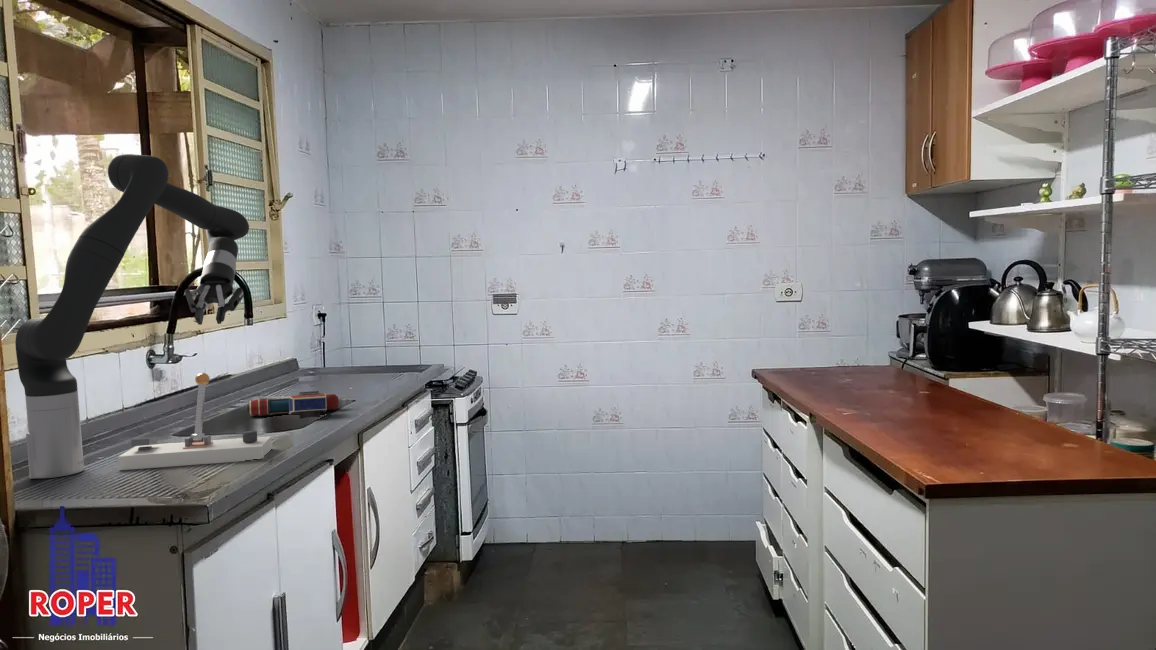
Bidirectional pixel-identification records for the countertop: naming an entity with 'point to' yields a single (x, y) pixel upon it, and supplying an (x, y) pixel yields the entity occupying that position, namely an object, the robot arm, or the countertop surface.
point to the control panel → (194, 453)
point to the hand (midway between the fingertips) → (208, 321)
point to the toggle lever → (200, 407)
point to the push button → (249, 436)
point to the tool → (295, 405)
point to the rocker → (144, 442)
